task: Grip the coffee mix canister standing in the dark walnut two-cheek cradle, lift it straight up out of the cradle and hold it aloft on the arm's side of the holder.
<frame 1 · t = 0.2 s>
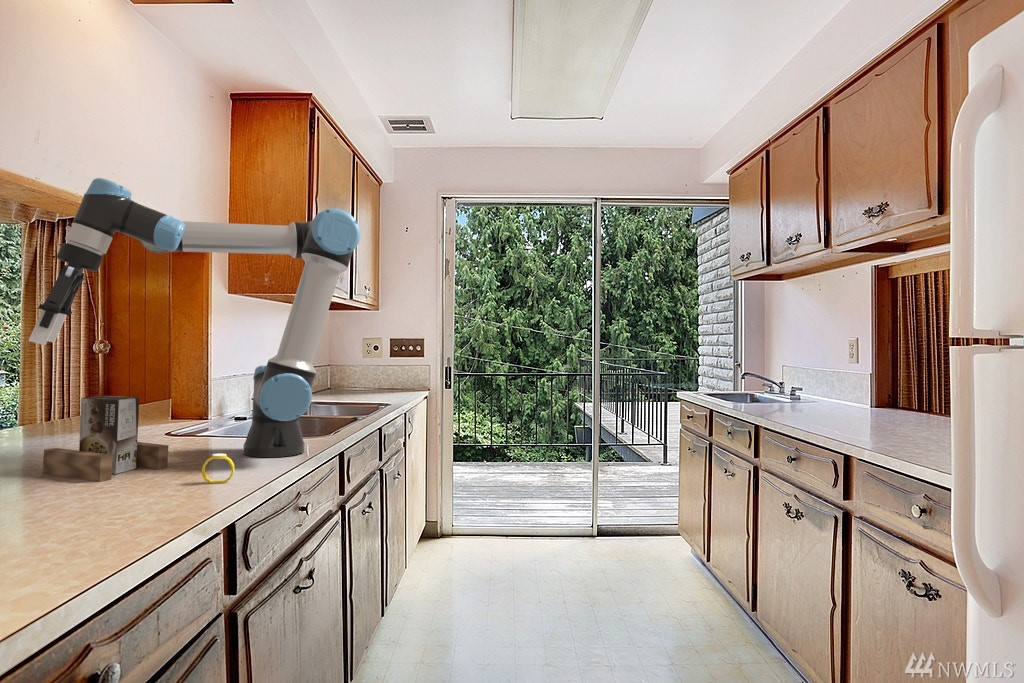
hand: (41, 342, 122), 28 cm above the worktop, tool tilted 15°, fingers open, 13 cm apart
coffee box: (107, 471, 128), on the worktop
cradle: (107, 470, 128), on the worktop
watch: (217, 483, 122), on the worktop
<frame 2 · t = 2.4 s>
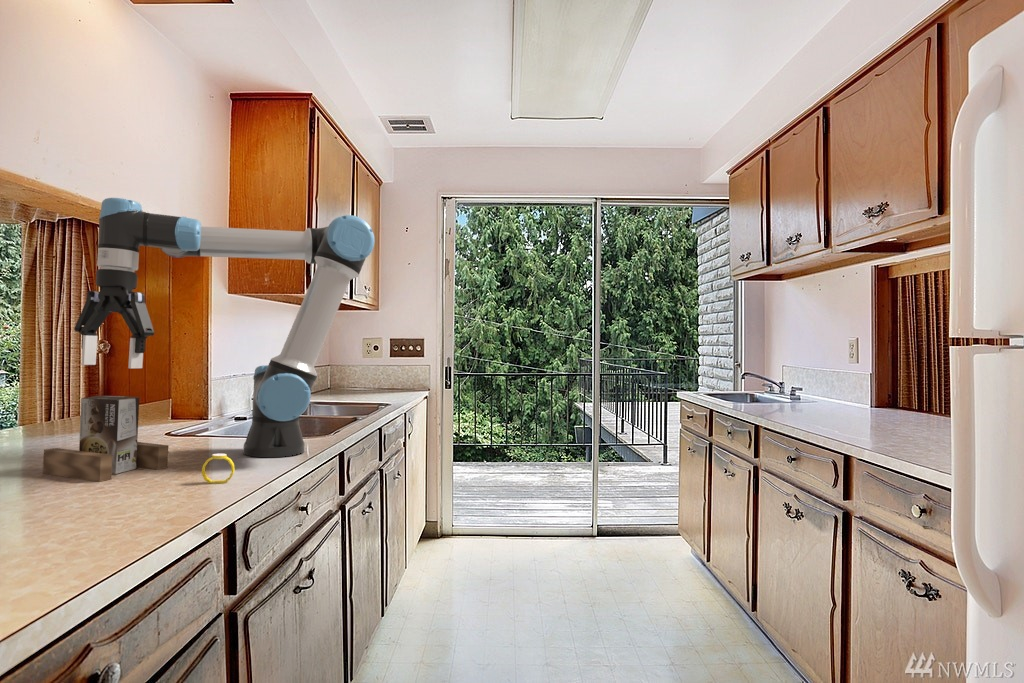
hand: (111, 366, 128), 23 cm above the worktop, tool pointing down, fingers open, 13 cm apart
nothing on the worktop moved.
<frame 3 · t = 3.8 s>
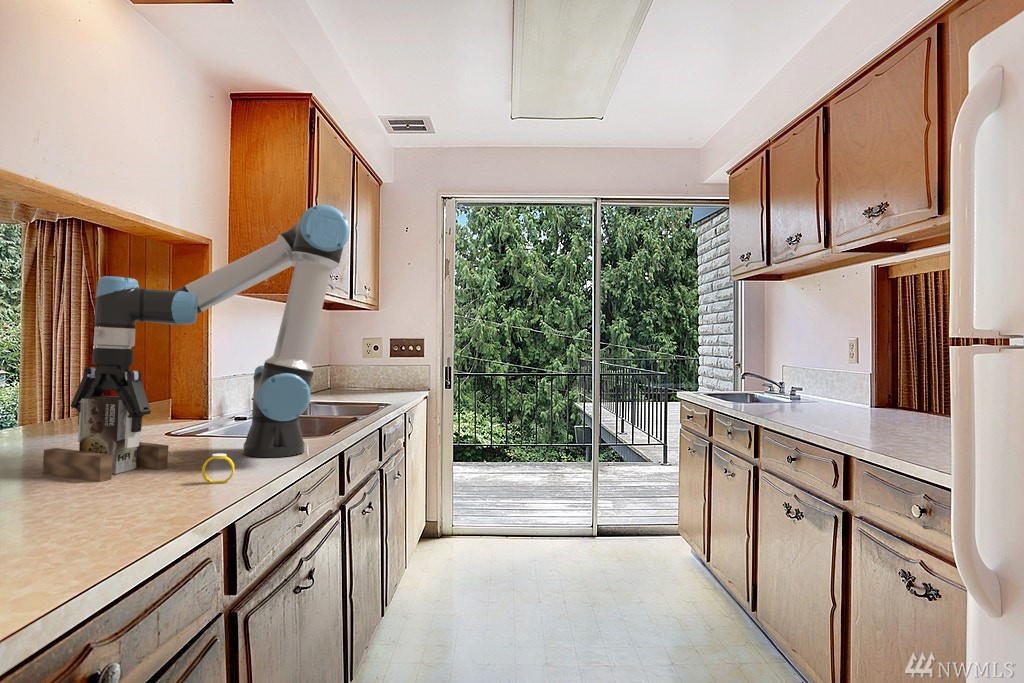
hand: (108, 444, 128), 6 cm above the worktop, tool pointing down, fingers open, 13 cm apart
nothing on the worktop moved.
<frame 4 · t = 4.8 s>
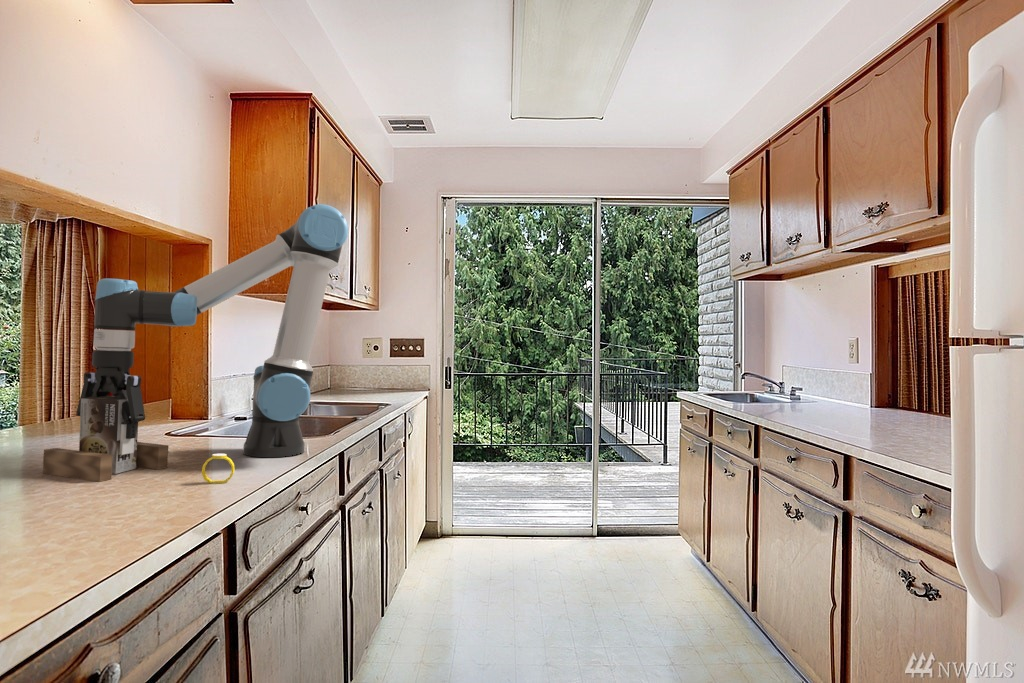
hand: (108, 451, 128), 4 cm above the worktop, tool pointing down, fingers closed on coffee box, 10 cm apart
coffee box: (107, 471, 128), on the worktop, touching gripper
everything else where it was.
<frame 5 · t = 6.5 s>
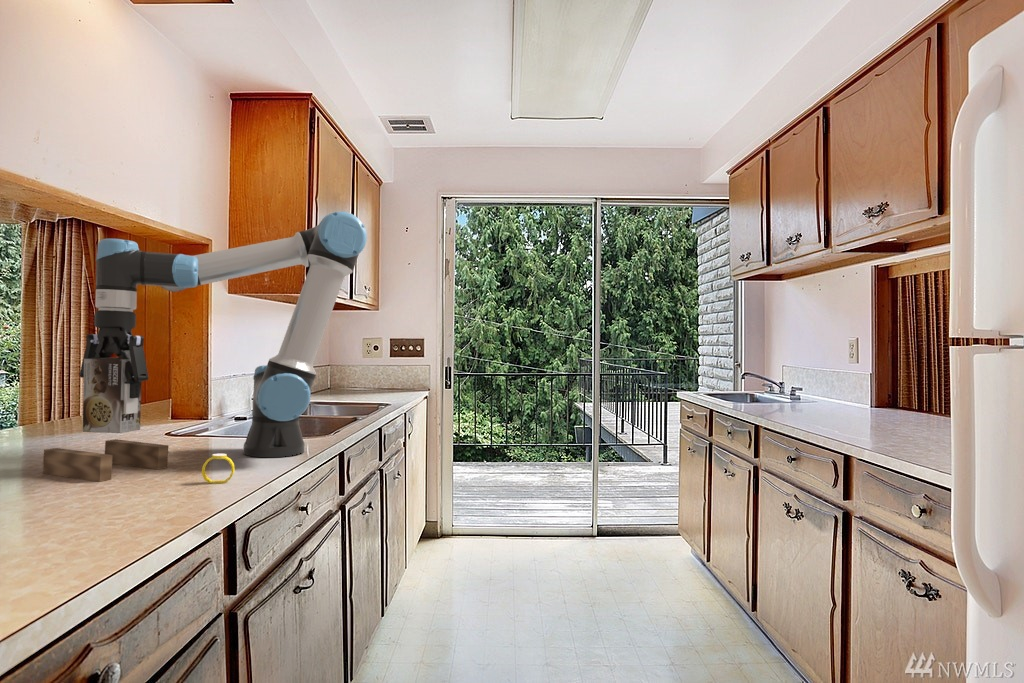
hand: (112, 411, 128), 13 cm above the worktop, tool pointing down, fingers closed on coffee box, 10 cm apart
coffee box: (111, 431, 128), point 8 cm above the worktop, touching gripper
everything else where it was.
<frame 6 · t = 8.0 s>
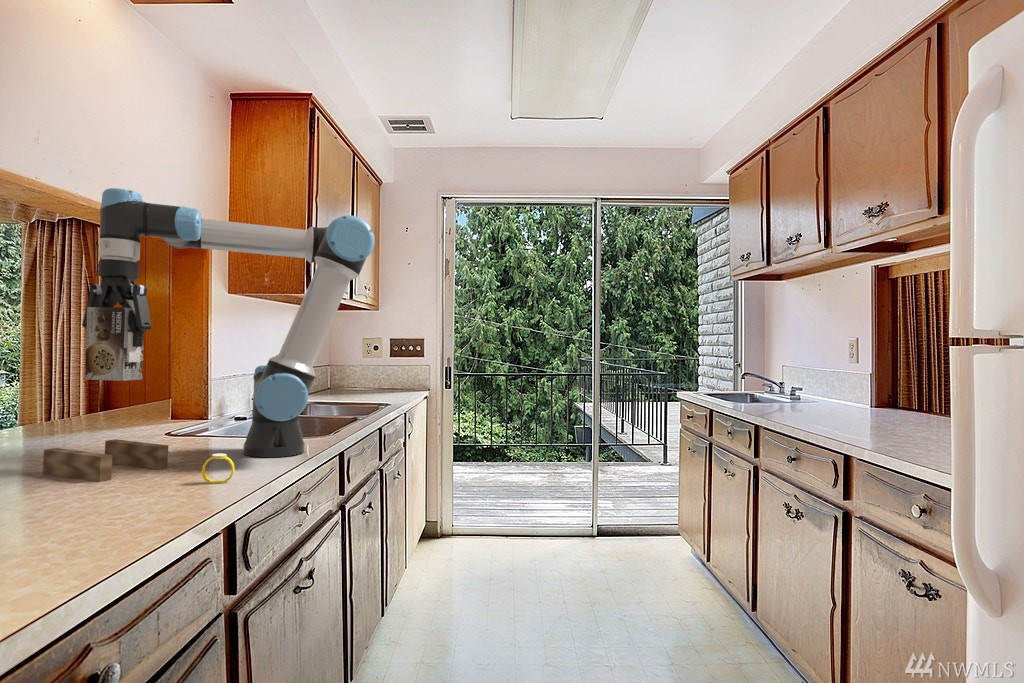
hand: (115, 360, 129), 24 cm above the worktop, tool pointing down, fingers closed on coffee box, 10 cm apart
coffee box: (114, 380, 129), point 20 cm above the worktop, touching gripper
everything else where it was.
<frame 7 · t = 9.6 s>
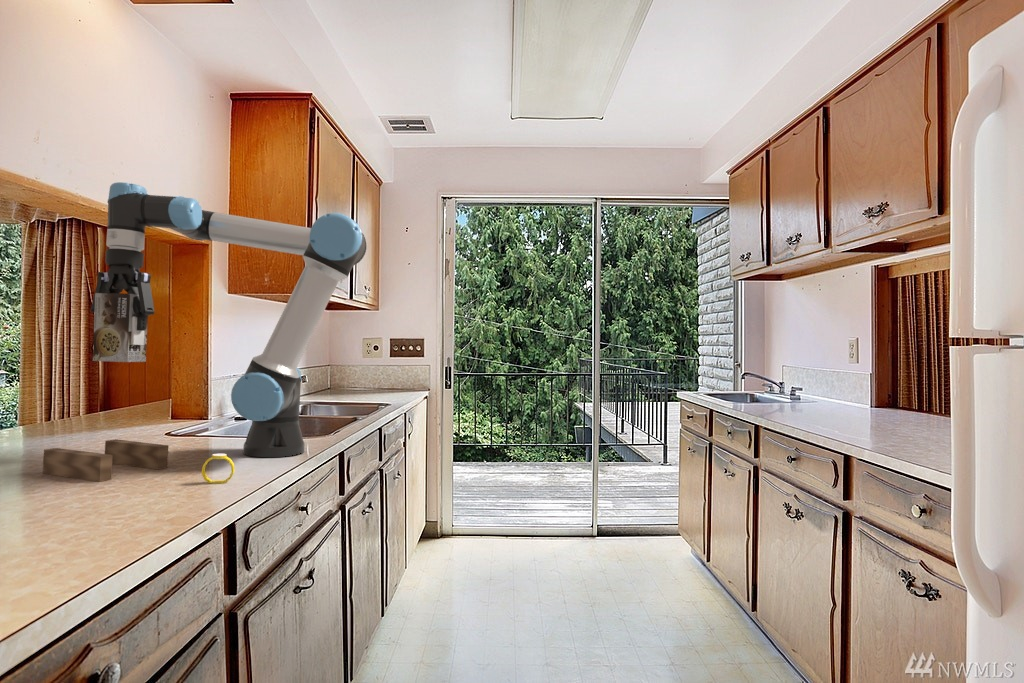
hand: (120, 343, 138), 28 cm above the worktop, tool pointing down, fingers closed on coffee box, 10 cm apart
coffee box: (119, 362, 138), point 23 cm above the worktop, touching gripper
everything else where it was.
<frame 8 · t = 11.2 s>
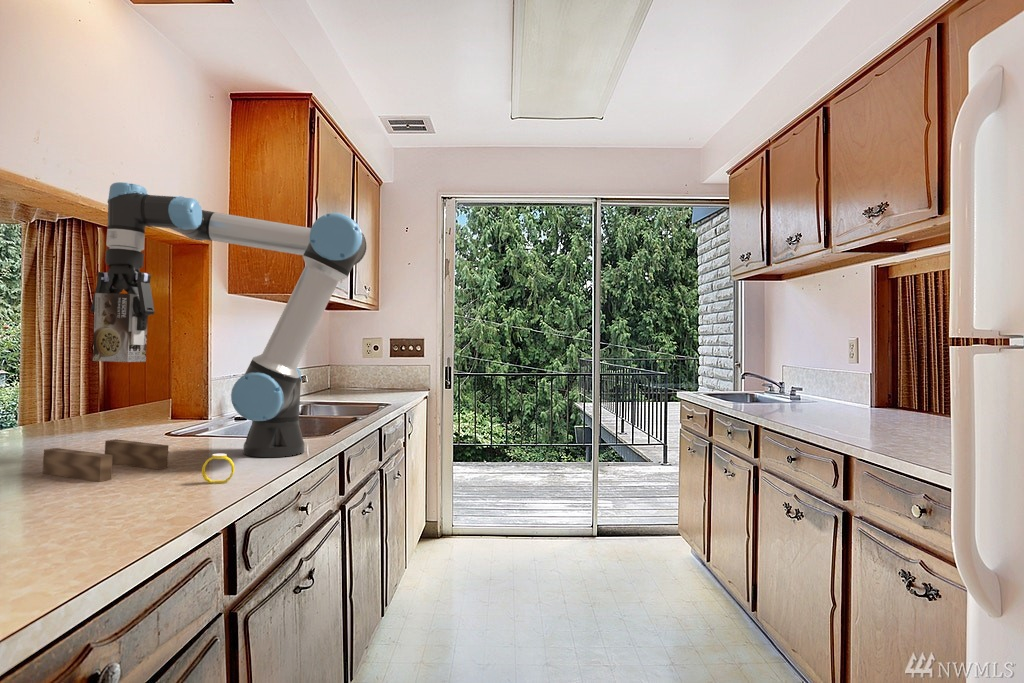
hand: (120, 343, 138), 28 cm above the worktop, tool pointing down, fingers closed on coffee box, 10 cm apart
coffee box: (119, 362, 138), point 23 cm above the worktop, touching gripper
everything else where it was.
at the end: the gripper is holding coffee box; coffee box point 23.2 cm above the worktop; coffee box touching gripper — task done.
